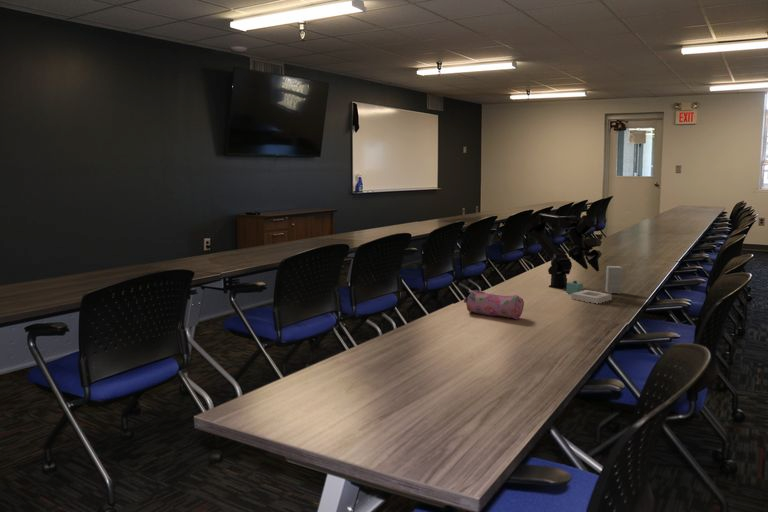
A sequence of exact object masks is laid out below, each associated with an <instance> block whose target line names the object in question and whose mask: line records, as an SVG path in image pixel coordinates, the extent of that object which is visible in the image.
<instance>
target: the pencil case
mask: <svg viewBox="0 0 768 512" xmlns="http://www.w3.org/2000/svg"><path fill="white" fill-rule="evenodd" d="M468 293H469V295H468V296H467V297H464V299H463V303H464V304H466V309H467V311H468V312H469V313H474V314H480V315H483V316H491V317H504V318H510V319H514V320H519V318H521V316H522V314H523V311H524V310H523V309H524V306H525V302H524V299H523V298H522V297H520V296H519V295H517V294H515V295H501V294H495V293H494V294H493V293H486V292H485V291H481V290H479V289H475V290H469V291H468Z"/></svg>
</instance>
